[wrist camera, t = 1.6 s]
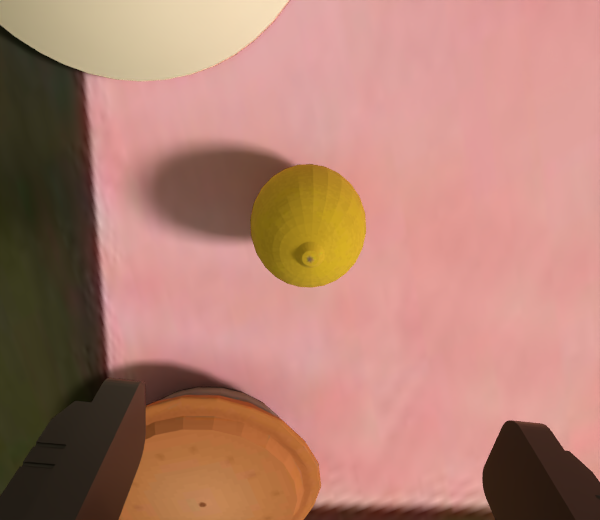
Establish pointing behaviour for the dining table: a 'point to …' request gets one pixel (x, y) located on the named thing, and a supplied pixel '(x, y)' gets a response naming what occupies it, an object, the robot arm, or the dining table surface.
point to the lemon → (308, 225)
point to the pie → (220, 461)
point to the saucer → (139, 33)
